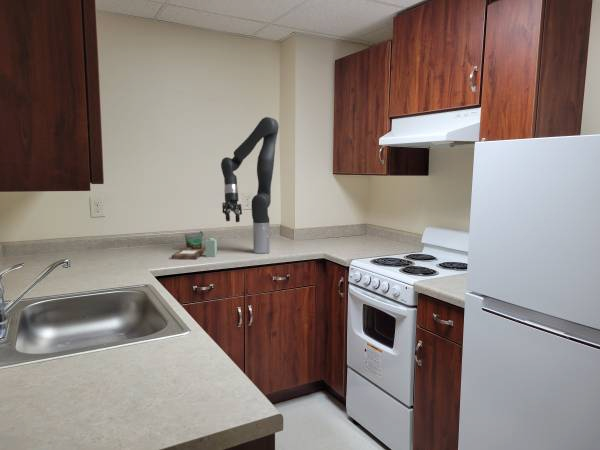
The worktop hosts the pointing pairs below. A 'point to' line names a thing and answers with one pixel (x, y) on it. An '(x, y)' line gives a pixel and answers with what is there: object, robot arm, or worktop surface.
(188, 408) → the worktop surface
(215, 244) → the sage block
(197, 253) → the base board
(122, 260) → the worktop surface
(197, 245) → the food container
